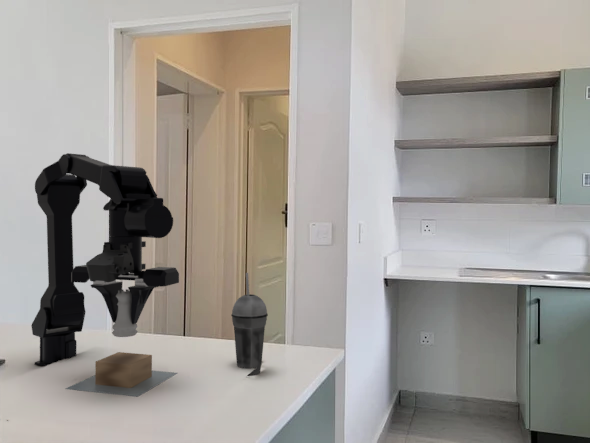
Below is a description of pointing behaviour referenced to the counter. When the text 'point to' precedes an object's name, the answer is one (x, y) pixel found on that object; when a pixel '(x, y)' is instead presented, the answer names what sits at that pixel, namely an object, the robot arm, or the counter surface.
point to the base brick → (123, 369)
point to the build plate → (134, 391)
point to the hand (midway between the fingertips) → (124, 322)
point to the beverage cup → (249, 330)
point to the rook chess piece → (124, 316)
